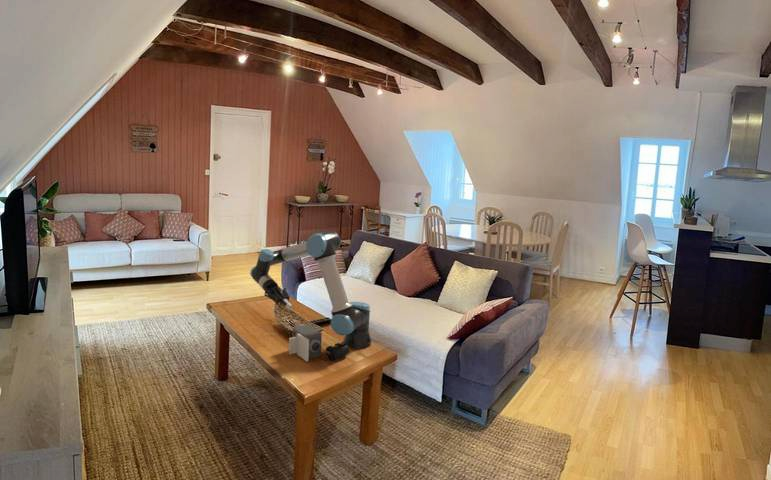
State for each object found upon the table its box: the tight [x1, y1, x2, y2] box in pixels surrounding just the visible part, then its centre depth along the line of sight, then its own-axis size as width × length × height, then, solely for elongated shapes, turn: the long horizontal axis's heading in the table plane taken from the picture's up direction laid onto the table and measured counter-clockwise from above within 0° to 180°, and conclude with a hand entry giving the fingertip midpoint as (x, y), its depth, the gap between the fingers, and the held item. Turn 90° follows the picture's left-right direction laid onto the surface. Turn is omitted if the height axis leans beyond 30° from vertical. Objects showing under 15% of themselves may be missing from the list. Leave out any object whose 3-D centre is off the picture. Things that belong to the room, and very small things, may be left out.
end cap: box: [325, 342, 350, 362], centre depth 248 cm, size 10×7×7 cm
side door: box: [288, 333, 310, 362], centre depth 243 cm, size 6×10×11 cm, turn 38°
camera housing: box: [292, 324, 323, 359], centre depth 251 cm, size 9×16×12 cm, turn 38°
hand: (290, 307), depth 253 cm, fingers closed
